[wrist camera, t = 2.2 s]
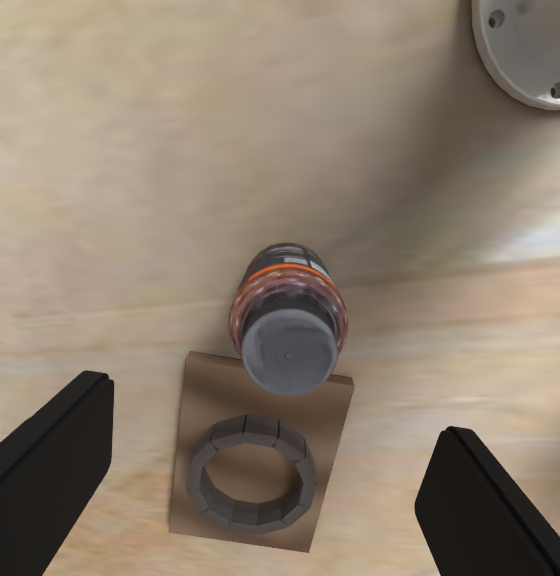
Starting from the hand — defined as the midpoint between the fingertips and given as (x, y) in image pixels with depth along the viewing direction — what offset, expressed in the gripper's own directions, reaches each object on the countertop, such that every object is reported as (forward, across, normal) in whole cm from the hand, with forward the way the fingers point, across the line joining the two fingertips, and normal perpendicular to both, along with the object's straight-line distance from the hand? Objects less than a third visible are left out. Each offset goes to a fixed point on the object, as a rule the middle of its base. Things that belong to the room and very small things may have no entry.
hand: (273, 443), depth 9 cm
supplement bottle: (+16, 0, -1) cm, 16 cm away
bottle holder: (+16, 0, +15) cm, 22 cm away
